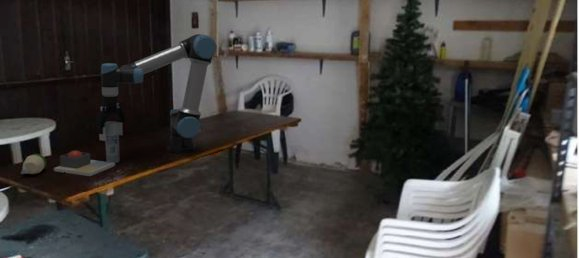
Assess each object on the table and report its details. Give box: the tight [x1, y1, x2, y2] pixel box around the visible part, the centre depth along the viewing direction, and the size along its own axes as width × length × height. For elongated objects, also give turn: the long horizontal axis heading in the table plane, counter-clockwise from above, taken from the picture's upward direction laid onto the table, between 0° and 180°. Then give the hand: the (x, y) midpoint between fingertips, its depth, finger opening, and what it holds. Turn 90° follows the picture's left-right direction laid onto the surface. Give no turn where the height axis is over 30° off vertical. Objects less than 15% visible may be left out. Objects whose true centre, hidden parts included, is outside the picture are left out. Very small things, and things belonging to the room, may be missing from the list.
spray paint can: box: [104, 121, 121, 164], centre depth 245 cm, size 6×6×20 cm
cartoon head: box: [20, 153, 47, 175], centre depth 225 cm, size 9×10×20 cm
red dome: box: [67, 150, 83, 158], centre depth 234 cm, size 7×7×7 cm
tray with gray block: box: [53, 151, 116, 177], centre depth 234 cm, size 20×18×6 cm
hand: (111, 137), depth 245 cm, fingers open, 13 cm apart
